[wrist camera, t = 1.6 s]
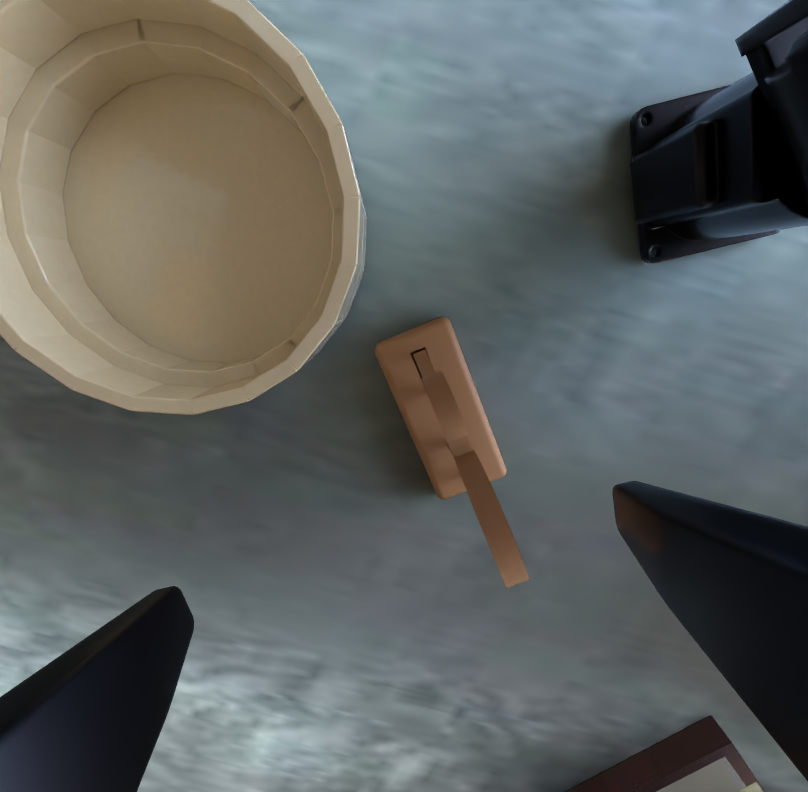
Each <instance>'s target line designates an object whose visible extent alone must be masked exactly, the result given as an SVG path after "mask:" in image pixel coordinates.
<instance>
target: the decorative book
mask: <svg viewBox="0 0 808 792" xmlns="http://www.w3.org/2000/svg"><path fill="white" fill-rule="evenodd" d="M567 792H765V791H764V789H763V788H762V787H761V785H760V784H759V782H758V781H757V779H756V778H755V776H754V775H753V773H752V772H751V770H750V769H749V767H748V766H747V764H746V763H745V761H744V760H743V758H742V757H741V755H740V754H739V752H738V751H737V750H736V748H735V747H734V745H733V744H732V742H731V741H730V740H729V738H728V737H727V736H726V734H725V733H724V732H723V730H722V729H721V728H720V726H719V725H718V724H717V722H716V721H715V720H714V718H713V717H712V716H709V717H707V718H705V719H703V720H701V721H699V722H698V723H696V724H694V725H692V726H690V727H688V728H686V729H684V730H682V731H681V732H679V733H677V734H675V735H673V736H671V737H669V738H667V739H665V740H663V741H662V742H660V743H658V744H656V745H654V746H652V747H650V748H648V749H646V750H644V751H643V752H641V753H639V754H637V755H635V756H633V757H631V758H629V759H627V760H625V761H624V762H622V763H620V764H618V765H616V766H614V767H612V768H610V769H608V770H606V771H605V772H603V773H601V774H599V775H597V776H595V777H593V778H591V779H589V780H587V781H586V782H584V783H582V784H580V785H578V786H576V787H574V788H572V789H570V790H569V791H567Z"/></svg>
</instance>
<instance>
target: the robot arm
mask: <svg viewBox="0 0 808 792" xmlns="http://www.w3.org/2000/svg"><path fill="white" fill-rule="evenodd" d="M735 41H736V44H737V46H738V49H739V51H740V54H741V56H744V55H746V56H747V58H748V61H749V63H750V66H751V68H752V71H753V73H751V74H750V75H748V76H746V77H744V78H743V79H741V80H739V81H738V82H736V83H734V84H733V85H729V86H725V87H721V88H717V89H713V90H710V91H706V92H702V93H698V94H694V95H690V96H686V97H682V98H678V99H674V100H670V101H666V102H662V103H658V104H655V105H651V106H647V107H644V108H642V109H641V110H639V111H638V112H636V113H635V114H634V115H633V117H632V119H631V121H630V133H631V145H632V157H633V161H632V162H631V176H632V188H633V200H634V212H635V220H636V221H637V222H638V230H639V243H640V255H641V258H642V260H643V261H644V262H646V263H658V262H662V261H666V260H670V259H674V258H678V257H682V256H686V255H691V254H695V253H699V252H703V251H707V250H711V249H715V248H719V247H723V246H727V245H731V244H736V243H740V242H744V241H748V240H752V239H756V238H760V237H764V236H768V235H772V234H776V233H778V232H779V231H780V230H781V229H787V228H793V227H800V226H807V225H808V0H789V1H787V2H786V3H785V4H783V5H782V6H781V7H779V8H778V9H777V10H775V11H774V12H773V13H771V14H770V15H768V16H767V17H766V18H764V19H763V20H762V21H760V22H759V23H758V24H756V25H755V26H754V27H752V28H751V29H749V30H748V31H747V32H745V33H744V34H743V35H741V36H740V37H739V38H737V39H736V40H735ZM641 117H644V118H646V120H647V125H646V126H643V125H642V123H641ZM653 247H654V248H655V249H656V255H655V256H654V257H653V256H652V255H651V250H652V248H653ZM613 501H614V510H615V518H616V524H617V527H618V530H619V532H620V534H621V536H622V537H623V539H624V540H625V542H626V543H627V545H628V546H629V548H630V549H631V551H632V553H633V554H634V556H635V557H636V559H637V560H638V562H639V563H640V565H641V566H642V568H643V570H644V571H645V573H646V574H647V576H648V577H649V579H650V580H651V582H652V583H653V585H654V587H655V588H656V590H657V591H658V593H659V594H660V596H661V597H662V598H663V600H664V601H665V603H666V604H667V606H668V607H669V608H670V609H671V611H672V612H673V613H674V615H675V616H676V617H677V618H678V620H679V621H680V622H681V623H682V625H683V626H684V627H685V628H686V630H687V631H688V632H689V633H690V635H691V636H692V637H693V638H694V640H695V641H696V642H697V643H698V645H699V646H700V647H701V648H702V650H703V651H704V652H705V653H706V655H707V656H708V657H709V658H710V660H711V661H712V662H713V663H714V665H715V666H716V667H717V668H718V670H719V671H720V672H721V673H722V675H723V676H724V677H725V678H726V680H727V681H728V682H729V683H730V685H731V686H732V687H733V688H734V690H735V691H736V692H737V693H738V695H739V696H740V697H741V698H742V700H743V701H744V702H745V703H746V705H747V706H748V707H749V708H750V710H751V711H752V712H753V713H754V715H755V716H756V717H757V718H758V720H759V721H760V722H761V724H762V725H763V726H764V727H765V729H766V730H767V731H768V732H769V734H770V735H771V736H772V737H773V739H774V740H775V741H776V742H777V744H778V745H779V746H780V747H781V749H782V750H783V751H784V752H785V754H786V755H787V756H788V757H789V759H790V760H791V761H792V762H793V764H794V765H795V766H796V767H797V769H798V770H799V771H800V772H801V774H802V775H803V776H804V777H805V779H806V780H807V781H808V527H807V526H803V525H799V524H795V523H792V522H788V521H784V520H780V519H776V518H773V517H769V516H765V515H761V514H758V513H754V512H750V511H746V510H743V509H739V508H735V507H731V506H728V505H724V504H720V503H716V502H713V501H709V500H705V499H702V498H698V497H694V496H690V495H687V494H683V493H679V492H675V491H672V490H668V489H664V488H660V487H657V486H653V485H649V484H645V483H642V482H638V481H630V482H626V483H622V484H617V485H615V486H614V488H613ZM193 630H194V619H193V615H192V613H191V611H190V609H189V607H188V605H187V602H186V600H185V598H184V596H183V594H182V592H181V590H180V589H179V588H178V587H175V586H172V587H167V588H163V589H158V590H155V591H153V592H152V593H150V594H149V595H147V596H146V597H145V598H143V599H142V600H140V601H139V602H137V603H136V604H134V605H133V606H132V607H130V608H129V609H127V610H126V611H124V612H123V613H121V614H120V615H119V616H117V617H116V618H114V619H113V620H111V621H110V622H108V623H107V624H105V625H104V626H103V627H101V628H100V629H98V630H97V631H95V632H94V633H92V634H91V635H90V636H88V637H87V638H85V639H84V640H82V641H81V642H79V643H78V644H77V645H75V646H74V647H72V648H71V649H69V650H68V651H66V652H65V653H63V654H62V655H61V656H59V657H58V658H56V659H55V660H53V661H52V662H50V663H49V664H48V665H46V666H45V667H43V668H42V669H40V670H39V671H37V672H36V673H35V674H33V675H32V676H30V677H29V678H27V679H26V680H24V681H23V682H22V683H20V684H19V685H17V686H16V687H14V688H13V689H11V690H10V691H8V692H7V693H6V694H4V695H3V696H1V697H0V792H137V790H138V787H139V785H140V782H141V780H142V777H143V775H144V772H145V770H146V767H147V765H148V762H149V760H150V757H151V755H152V752H153V750H154V747H155V744H156V742H157V739H158V737H159V734H160V732H161V729H162V727H163V724H164V722H165V719H166V716H167V714H168V711H169V708H170V705H171V702H172V699H173V696H174V692H175V689H176V686H177V683H178V679H179V676H180V673H181V670H182V666H183V663H184V660H185V656H186V653H187V650H188V647H189V643H190V640H191V637H192V634H193Z"/></svg>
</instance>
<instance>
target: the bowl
mask: <svg viewBox="0 0 808 792" xmlns="http://www.w3.org/2000/svg"><path fill="white" fill-rule="evenodd" d="M366 217H367V215H366V211H365V207H364V203H363V198H362V194H361V190H360V186H359V182H358V178H357V174H356V170H355V166H354V162H353V158H352V155H351V151H350V147H349V144H348V140H347V137H346V133H345V129H344V126H343V124H342V121H341V119H340V117H339V116H338V114H337V112H336V110H335V109H334V107H333V105H332V103H331V102H330V100H329V98H328V96H327V95H326V93H325V91H324V89H323V88H322V86H321V84H320V82H319V80H318V79H317V77H316V75H315V73H314V72H313V70H312V68H311V66H310V65H309V63H308V61H307V59H306V58H305V56H304V55H303V54H302V52H301V51H300V50H299V49H298V48H297V47H296V46H295V45H294V44H293V43H292V42H291V41H290V40H289V39H288V38H287V37H286V36H285V35H284V34H283V33H282V32H281V31H279V30H278V29H277V28H276V27H275V26H274V25H273V24H272V23H271V22H270V21H269V20H268V19H267V18H266V17H265V16H264V15H263V14H262V13H261V12H260V11H259V10H258V9H257V8H256V7H255V6H254V5H253V4H252V3H251V2H250V1H249V0H0V335H1V336H2V337H3V338H4V340H5V341H6V342H7V343H8V344H9V345H10V346H11V348H12V349H14V350H15V351H16V352H17V353H18V354H20V355H21V356H23V357H24V358H26V359H27V360H29V361H30V362H31V363H33V364H34V365H36V366H37V367H39V368H40V369H42V370H43V371H45V372H46V373H48V374H49V375H51V376H52V377H53V378H55V379H56V380H58V381H59V382H61V383H62V384H64V385H65V386H67V387H68V388H70V389H71V390H73V391H76V392H79V393H82V394H85V395H87V396H90V397H93V398H96V399H99V400H101V401H104V402H107V403H110V404H113V405H116V406H118V407H121V408H124V409H127V410H130V411H138V412H153V413H169V414H185V415H193V414H194V415H195V414H200V413H204V412H208V411H212V410H216V409H220V408H224V407H228V406H233V405H237V404H241V403H245V402H248V401H250V400H253V399H254V398H256V397H257V396H259V395H261V394H262V393H264V392H265V391H267V390H269V389H270V388H272V387H273V386H275V385H276V384H278V383H280V382H281V381H283V380H284V379H286V378H288V377H289V376H291V375H292V374H294V373H296V372H297V371H298V370H299V369H300V368H302V367H303V366H304V365H305V364H306V363H307V362H308V361H309V360H311V359H312V358H313V357H314V356H315V355H316V354H317V353H318V352H319V351H320V350H321V349H322V347H323V346H324V345H325V344H326V342H327V341H328V340H329V339H330V338H331V336H332V335H333V334H334V333H335V331H336V330H337V329H338V328H339V326H340V325H341V324H342V323H343V321H344V320H345V319H346V317H347V316H348V313H349V310H350V308H351V305H352V302H353V300H354V297H355V294H356V292H357V289H358V286H359V284H360V281H361V278H362V276H363V273H364V271H363V270H364V268H365V249H366V230H367V218H366Z"/></svg>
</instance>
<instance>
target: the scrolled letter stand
mask: <svg viewBox="0 0 808 792" xmlns="http://www.w3.org/2000/svg"><path fill="white" fill-rule="evenodd" d="M375 354H376V357H377V359H378V361H379V364H380V366H381V368H382V370H383V373H384V375H385V377H386V380H387V382H388V384H389V386H390V389H391V391H392V393H393V396H394V398H395V400H396V402H397V405H398V407H399V409H400V412H401V414H402V416H403V418H404V421H405V423H406V425H407V428H408V430H409V432H410V434H411V437H412V439H413V441H414V444H415V446H416V448H417V450H418V453H419V455H420V457H421V460H422V462H423V464H424V467H425V469H426V471H427V473H428V476H429V478H430V480H431V483H432V485H433V487H434V489H435V492H436V494H437V496H438V497H439V498H440V499H448V498H450V497H453V496H455V495H458V494H460V493H463V492H466V491H467V493H468V495H469V498H470V500H471V503H472V505H473V508H474V510H475V513H476V515H477V517H478V520H479V522H480V525H481V527H482V530H483V532H484V535H485V537H486V540H487V542H488V544H489V547H490V549H491V552H492V554H493V557H494V559H495V561H496V564H497V566H498V569H499V571H500V573H501V576H502V578H503V581H504V583H505V585H506V587H507V588H508V587H510V586H513V585H516V584H519V583H521V582H524V581H527V580H529V577H528V573H527V570H526V568H525V565H524V562H523V559H522V557H521V554H520V552H519V549H518V547H517V544H516V542H515V539H514V537H513V534H512V532H511V529H510V527H509V525H508V522H507V520H506V518H505V515H504V513H503V511H502V508H501V506H500V504H499V501H498V499H497V497H496V494H495V492H494V490H493V488H492V486H491V483H490V482H491V481H494V480H496V479H499V478H501V477H503V476H505V474H506V467H505V465H504V462H503V459H502V457H501V454H500V451H499V449H498V446H497V443H496V441H495V438H494V436H493V433H492V430H491V428H490V425H489V422H488V420H487V417H486V414H485V412H484V409H483V406H482V404H481V401H480V399H479V396H478V393H477V391H476V388H475V385H474V383H473V380H472V377H471V375H470V372H469V370H468V367H467V364H466V362H465V359H464V356H463V354H462V351H461V348H460V346H459V343H458V340H457V338H456V335H455V333H454V330H453V327H452V325H451V322H450V320H449V319H447V318H445V317H439V318H436V319H434V320H432V321H429V322H427V323H424V324H422V325H420V326H417V327H415V328H413V329H410V330H408V331H405V332H403V333H401V334H398V335H396V336H394V337H391V338H389V339H386V340H384V341H382V342H379V343H378V344H377V345H376V347H375Z"/></svg>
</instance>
